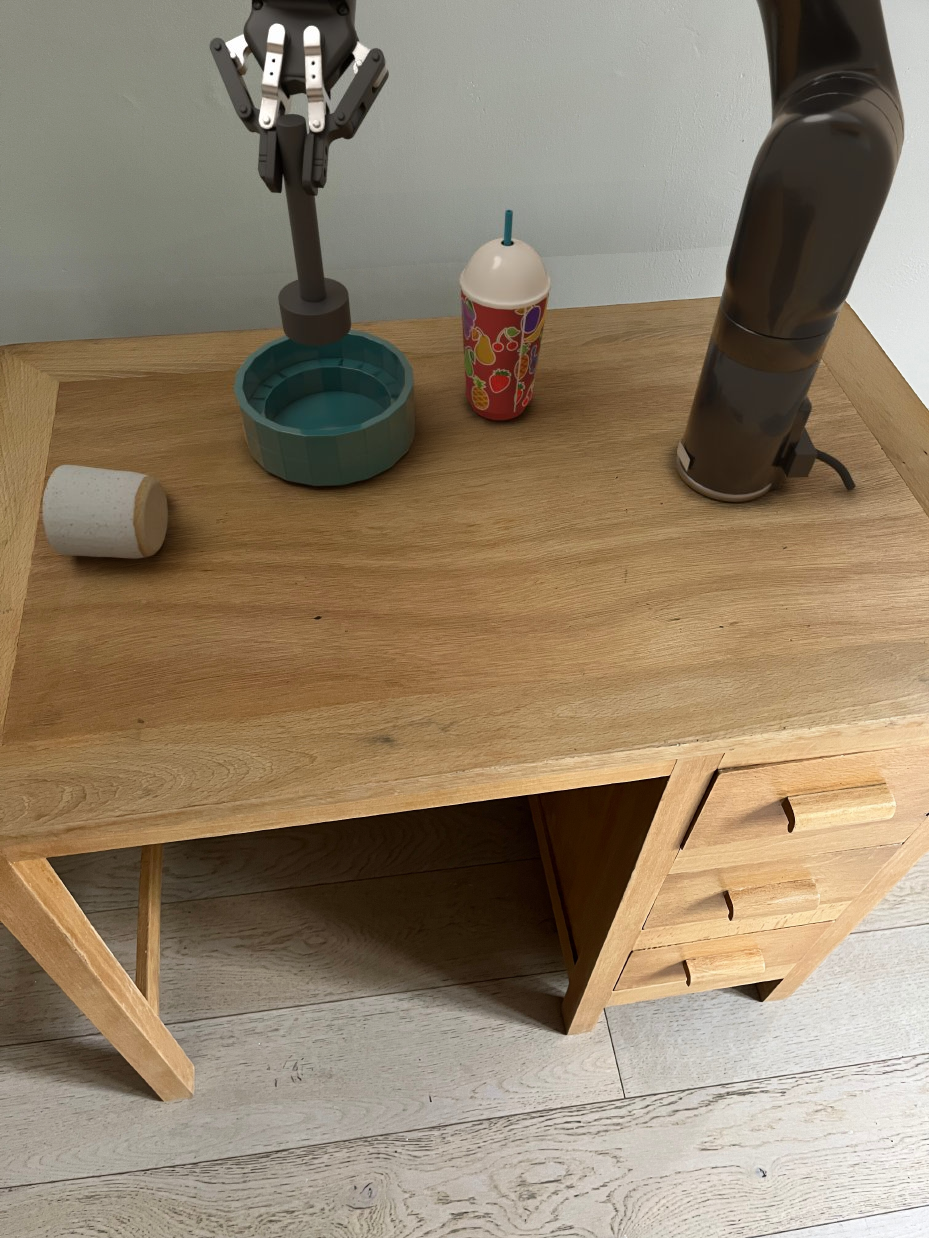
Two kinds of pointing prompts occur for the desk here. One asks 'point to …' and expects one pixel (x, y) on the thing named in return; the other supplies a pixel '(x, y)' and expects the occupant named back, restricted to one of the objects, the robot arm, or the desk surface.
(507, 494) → the desk surface
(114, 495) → the ceramic mug
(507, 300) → the smoothie
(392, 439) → the bowl
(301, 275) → the rod on round base
